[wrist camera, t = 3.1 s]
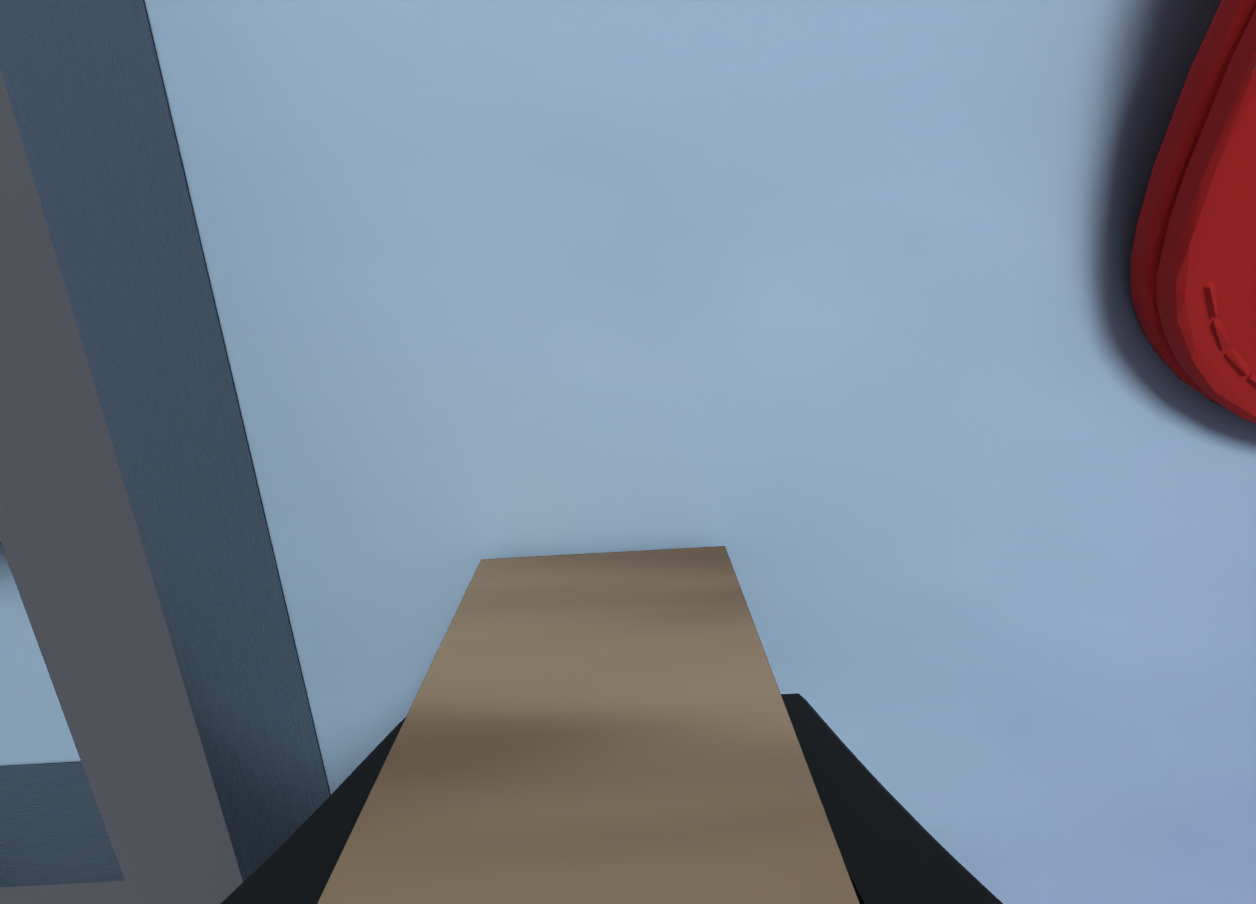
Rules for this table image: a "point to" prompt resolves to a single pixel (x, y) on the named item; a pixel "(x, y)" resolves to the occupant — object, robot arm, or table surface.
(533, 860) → the walnut peg
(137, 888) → the rail
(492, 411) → the table surface
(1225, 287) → the tracker holder
